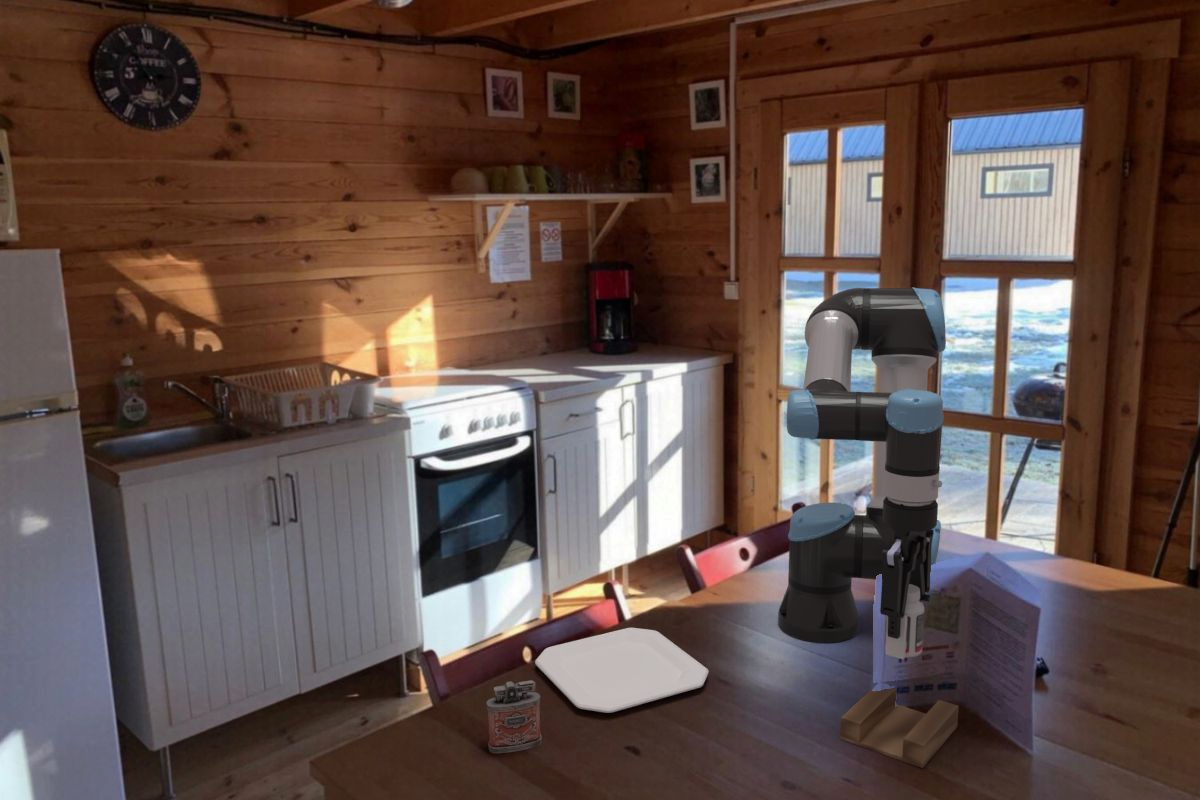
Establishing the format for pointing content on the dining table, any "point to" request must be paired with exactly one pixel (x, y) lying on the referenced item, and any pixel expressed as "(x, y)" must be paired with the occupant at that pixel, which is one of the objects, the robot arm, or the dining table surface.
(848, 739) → the groove block
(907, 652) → the pill bottle
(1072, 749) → the dining table surface
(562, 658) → the plate
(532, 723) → the lighter
